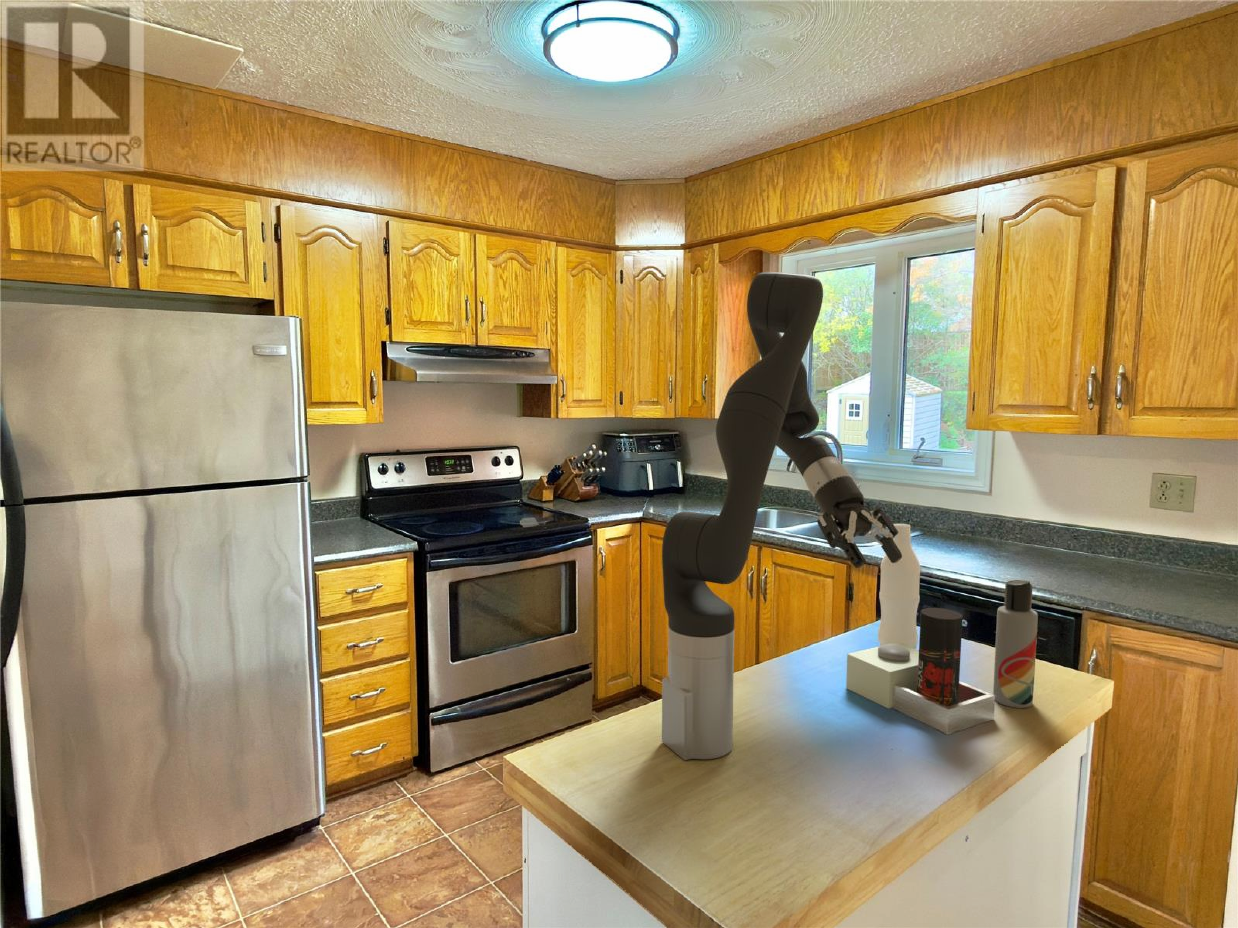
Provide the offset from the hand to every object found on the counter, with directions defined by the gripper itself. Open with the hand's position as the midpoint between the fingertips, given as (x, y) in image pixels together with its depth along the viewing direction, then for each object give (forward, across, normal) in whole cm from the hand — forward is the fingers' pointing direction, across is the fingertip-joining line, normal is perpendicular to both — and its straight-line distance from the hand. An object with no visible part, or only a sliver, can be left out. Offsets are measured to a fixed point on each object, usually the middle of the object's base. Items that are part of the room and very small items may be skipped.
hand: (879, 562), depth 120 cm
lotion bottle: (+26, +15, +5) cm, 30 cm away
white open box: (+24, +1, +7) cm, 25 cm away
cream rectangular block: (+17, +1, +13) cm, 22 cm away
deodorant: (+23, +1, +7) cm, 24 cm away
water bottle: (+9, +16, +22) cm, 28 cm away
